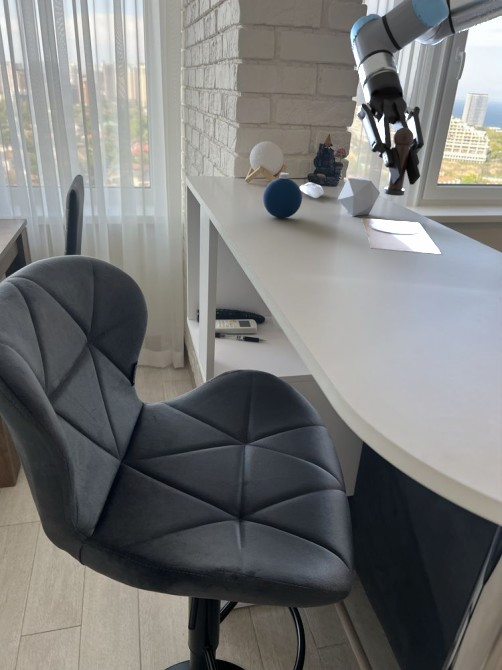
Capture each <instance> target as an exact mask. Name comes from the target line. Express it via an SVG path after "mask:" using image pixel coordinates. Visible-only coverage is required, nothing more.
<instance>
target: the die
mask: <svg viewBox="0 0 502 670" xmlns="http://www.w3.org/2000/svg"><path fill="white" fill-rule="evenodd" d="M380 194H381V192H380V190H379V189H378V188H377V187H376V185H375V184H374V182H373V181H372V180H370V179H369V178H367V177H366V176H358V177H348V178H347V179H346V182H345V183H344V186H343V187H342V190H341V192H340V193H339V195H338V197H337V199H336V200H337V201H338V202H339V203H340V205H341V206H342V207H343V208H344V209H345V210H346V211H347V213H349V214H350V215H351V216H352V217H355V216H356V217H357V216H365V215H370V213H371V212H372V210H373V207H374V205H375V204H376V202H377V200H378V199H379V196H380Z"/></svg>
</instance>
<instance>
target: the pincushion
mask: <svg viewBox="0 0 502 670" xmlns="http://www.w3.org/2000/svg"><path fill="white" fill-rule="evenodd" d="M307 178H309V175H308V176H307ZM306 180H307V179H306V178H304V179H303V181H304V183H303V184H301V185H300V186H299V188H300V190H301V192H302V193H303V194H304V195H307V196H310V197H312V198H314V199H318V198H319V197H321V196H323V195H324V189H323V187H322V186H321V185H320V184H321V182H322V181H321V180H322V179H319V182H318V181H316V183H315V180H316V179H315V178H314V180H313V182H311V181H312V180H310V182H309V181H308V182H307V183H306ZM317 183H318V184H317Z"/></svg>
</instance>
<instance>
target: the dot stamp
mask: <svg viewBox="0 0 502 670" xmlns="http://www.w3.org/2000/svg"><path fill="white" fill-rule="evenodd" d="M413 139H414V135H413V132H412V131H411V130H410V129H409V128H400V129H399V130H397V131H395V133H394V134H393V141H392V142H393V144H394V145H393V147H394V148H396V151H397V154H398V158H399V162H400V166H401V170H402V173H403V177H402V178H401V179H400V181H399V182H398V183H397V184H393V182H392V178H391V175H390V173H389V175H388V180H387V186H385V187H384V189H383V194H385V195H387V196H389V195H390V196H396V197H398V196H400V197H401V196H404V195H405V191H406V190H405V189H404V188H403V187H404V182H405V177H406V173H407V172H406V166H407V161H408V155H409V150H410V145H411V144H412V142H413Z"/></svg>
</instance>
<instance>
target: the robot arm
mask: <svg viewBox="0 0 502 670" xmlns="http://www.w3.org/2000/svg"><path fill="white" fill-rule="evenodd" d="M499 18H502V0H403V1H401V2H400V3H399V4H397V5H395V6H394V7H393V8H392V9H391V10H389V11H388V12H387V13H385V14H384V15H381V16H380V15H379V14H377V13H369V14H368V15H363V16H361V17H360V18H358V19H357V20H356V21H355V22H354V24H353V26H352V28H351V29H350V42H351V50H352V54H353V57H354V60H355V64H356V66H357V67H356V68H357V70H358V75H359V79H360V84H361V87H362V91H363V96H364V99H365V100H364V101H365V103H361V105H360V106H359V108H358V110H357V112H356V117H357V118H358V119H359V120H360V122H361V123H362V127H363V130H364V133H365V136H366V138H367V141H368V144H369V147H370V150H371V152H372V153H377V152H378V153H379V154H378V157H379V158H380V159H383V163H384V166H385V167H386V168H388V171H389V174H390V175H391V178H392V182H393V184H397V183H398V182H399V181H400V179H401V178H402V177H403V173H402V170H401V166H400V162H399V158H398V154H397V151H396V148H394V146H392V137H391V136H392V135H391V128H392V130H394V131H395V132H396V131H397V130H399V129H400V128H409V129H410V130H411V131H412V132H413V135H414V139H413V142H412V144H411V145H410V150H409V155H408V161H407V166H406V172H405V173H406V175H407V179H408V182H409V185H413V186H414V185H415V183H416V182H417V181H418V180H419V179H420V178H421V173H420V169H419V164H420V159H419V156H418V153H419V152H420V150H422V148H423V146H424V145H425V141H424V136H423V132H422V126H421V122H420V112H421V108H420V107H419V106H414V108H412V107H411V106H408V104H407V101H406V100H405V99H404V88H403V85H402V81H401V77H400V73H399V70H398V67H397V63H396V60H395V57H394V55H395V54H396V53H398V52H401V50H403V49H404V48H405V47H407V46H409V45H410V44H412V43H413V42H417V43H418V44H421V45H422V46H433V45H437V44H438V43H440V42H442V41H443V40H444V39H446V38H448V37H451V36H453V35H455V34H458V33H461V32H463V31H467V30H469V29H471V28H474V27H477V26H481V25H482V24H485V23H488V22H490V21H493V20H496V19H499Z"/></svg>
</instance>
